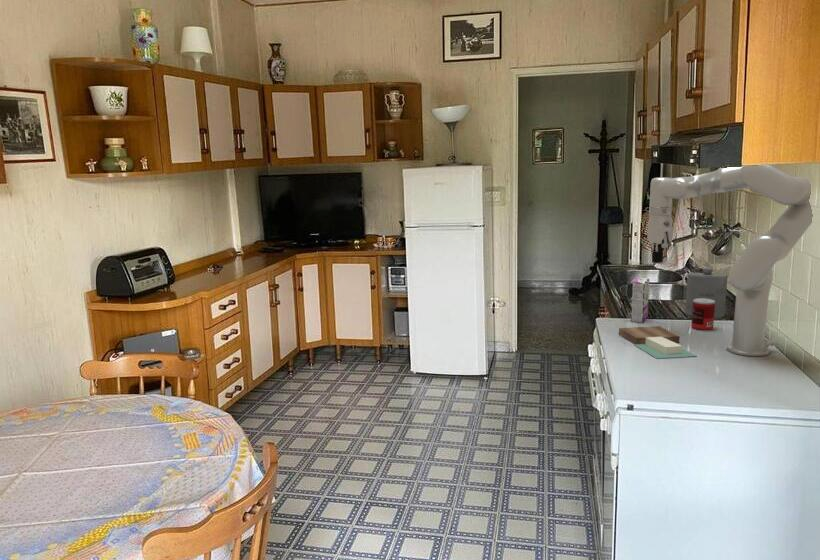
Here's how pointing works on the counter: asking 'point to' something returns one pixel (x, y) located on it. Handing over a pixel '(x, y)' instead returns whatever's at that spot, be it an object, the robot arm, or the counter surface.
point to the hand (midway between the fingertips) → (657, 262)
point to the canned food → (703, 314)
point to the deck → (647, 334)
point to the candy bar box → (640, 300)
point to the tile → (663, 345)
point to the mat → (661, 355)
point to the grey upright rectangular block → (706, 290)
